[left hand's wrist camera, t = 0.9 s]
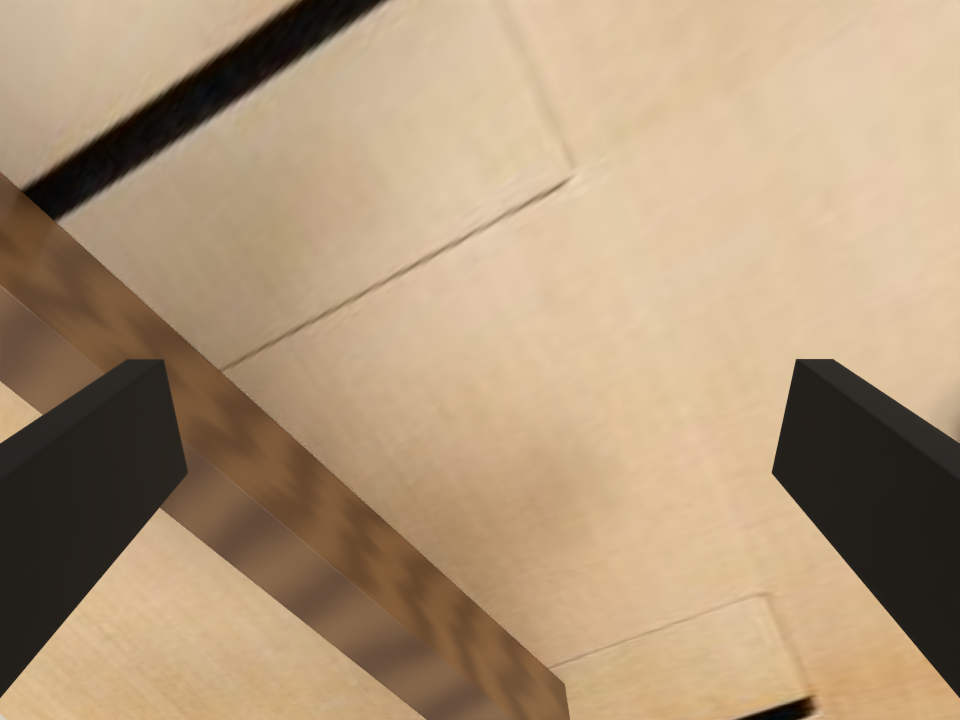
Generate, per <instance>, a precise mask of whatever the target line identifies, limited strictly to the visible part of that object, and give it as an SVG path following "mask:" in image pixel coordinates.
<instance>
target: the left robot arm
mask: <svg viewBox="0 0 960 720" xmlns="http://www.w3.org/2000/svg"><path fill="white" fill-rule="evenodd" d="M187 474H188V469H187V465H186V460H185V455H184V451H183V446H182V441H181V437H180V432H179V427H178V423H177V418H176V413H175V409H174V404H173V399H172V395H171V390H170V385H169V381H168V376H167V371H166V367H165V362H164V359H126V360H125V361H123V362H122V363H120V364H119V365H117V366H116V367H114V368H113V369H111V370H110V371H108V372H107V373H105V374H104V375H102V376H101V377H99V378H98V379H96V380H95V381H93V382H92V383H90V384H89V385H87V386H86V387H84V388H83V389H81V390H80V391H78V392H77V393H75V394H74V395H72V396H71V397H69V398H68V399H66V400H65V401H63V402H62V403H60V404H59V405H57V406H56V407H54V408H53V409H51V410H50V411H48V412H47V413H45V414H44V415H42V416H41V417H39V418H38V419H36V420H35V421H33V422H32V423H30V424H29V425H27V426H26V427H24V428H23V429H21V430H20V431H18V432H17V433H15V434H14V435H12V436H11V437H9V438H8V439H6V440H5V441H3V442H2V443H0V698H1V697H2V695H3V694H4V693H5V692H6V691H7V689H8V688H9V687H10V686H11V685H12V683H13V682H14V681H15V680H16V679H17V677H18V676H19V675H20V674H21V673H22V671H23V670H24V669H25V668H26V667H27V665H28V664H29V663H30V662H31V661H32V659H33V658H34V657H35V656H36V655H37V653H38V652H39V651H40V650H41V649H42V648H43V646H44V645H45V644H46V643H47V642H48V640H49V639H50V638H51V637H52V636H53V634H54V633H55V632H56V631H57V630H58V628H59V627H60V626H61V625H62V624H63V622H64V621H65V620H66V619H67V618H68V616H69V615H70V614H71V613H72V612H73V610H74V609H75V608H76V607H77V606H78V604H79V603H80V602H81V601H82V600H83V598H84V597H85V596H86V595H87V594H88V592H89V591H90V590H91V589H92V588H93V586H94V585H95V584H96V583H97V582H98V580H99V579H100V578H101V577H102V576H103V574H104V573H105V572H106V571H107V570H108V569H109V567H110V566H111V565H112V564H113V563H114V561H115V560H116V559H117V558H118V557H119V555H120V554H121V553H122V552H123V551H124V549H125V548H126V547H127V546H128V545H129V543H130V542H131V541H132V540H133V539H134V537H135V536H136V535H137V534H138V533H139V531H140V530H141V529H142V528H143V527H144V525H145V524H146V523H147V522H148V521H149V519H150V518H151V517H152V516H153V515H154V513H155V512H156V511H157V510H158V509H159V507H160V506H161V505H162V504H163V503H164V501H165V500H166V499H167V498H168V497H169V496H170V494H171V493H172V492H173V491H174V490H175V488H176V487H177V486H178V485H179V484H180V482H181V481H182V480H183V479H184V478H185V476H186V475H187ZM772 474H773V475H774V476H775V478H776V479H777V480H778V481H779V482H780V484H781V485H782V486H783V487H784V488H785V490H786V491H787V492H788V493H789V494H790V496H791V497H792V498H793V499H794V500H795V501H796V503H797V504H798V505H799V506H800V507H801V509H802V510H803V511H804V512H805V513H806V515H807V516H808V517H809V518H810V519H811V521H812V522H813V523H814V524H815V525H816V527H817V528H818V529H819V530H820V531H821V533H822V534H823V535H824V536H825V537H826V539H827V540H828V541H829V542H830V543H831V545H832V546H833V547H834V548H835V549H836V551H837V552H838V553H839V554H840V555H841V557H842V558H843V559H844V560H845V561H846V563H847V564H848V565H849V566H850V567H851V569H852V570H853V571H854V572H855V573H856V575H857V576H858V577H859V578H860V579H861V580H862V582H863V583H864V584H865V585H866V586H867V588H868V589H869V590H870V591H871V592H872V594H873V595H874V596H875V597H876V598H877V600H878V601H879V602H880V603H881V604H882V606H883V607H884V608H885V609H886V610H887V612H888V613H889V614H890V615H891V616H892V618H893V619H894V620H895V621H896V622H897V624H898V625H899V626H900V627H901V628H902V630H903V631H904V632H905V633H906V634H907V636H908V637H909V638H910V639H911V640H912V642H913V643H914V644H915V645H916V646H917V648H918V649H919V650H920V651H921V652H922V653H923V655H924V656H925V657H926V658H927V659H928V661H929V662H930V663H931V664H932V665H933V667H934V668H935V669H936V670H937V671H938V673H939V674H940V675H941V676H942V677H943V679H944V680H945V681H946V682H947V683H948V685H949V686H950V687H951V688H952V689H953V691H954V692H955V693H956V694H957V695H958V697H959V698H960V443H958V442H957V441H955V440H954V439H952V438H951V437H949V436H948V435H946V434H945V433H943V432H942V431H940V430H939V429H937V428H936V427H934V426H933V425H931V424H930V423H928V422H927V421H925V420H924V419H922V418H921V417H919V416H918V415H916V414H915V413H913V412H912V411H910V410H909V409H907V408H906V407H904V406H903V405H901V404H900V403H898V402H897V401H895V400H894V399H892V398H891V397H889V396H888V395H886V394H885V393H883V392H882V391H880V390H879V389H877V388H876V387H874V386H873V385H871V384H870V383H868V382H867V381H865V380H864V379H862V378H861V377H859V376H858V375H856V374H855V373H853V372H852V371H850V370H849V369H847V368H846V367H844V366H843V365H841V364H840V363H838V362H837V361H835V360H834V359H796V362H795V367H794V371H793V376H792V381H791V385H790V390H789V395H788V399H787V404H786V409H785V413H784V418H783V423H782V427H781V432H780V437H779V441H778V446H777V451H776V455H775V460H774V465H773V469H772Z"/></svg>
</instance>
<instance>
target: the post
mask: <svg viewBox="0 0 960 720" xmlns="http://www.w3.org/2000/svg"><path fill="white" fill-rule="evenodd" d="M126 359H164V362H165V367H166V371H167V376H168V381H169V385H170V390H171V395H172V399H173V404H174V409H175V413H176V418H177V423H178V427H179V432H180V437H181V441H182V446H183V451H184V455H185V460H186V465H187V469H188V474H187V475H186V476H185V478H184V479H183V480H182V481H181V482H180V484H179V485H178V486H177V487H176V488H175V490H174V491H173V492H172V493H171V494H170V496H169V497H168V498H167V499H166V500H165V501H164V503H163V504H162V505H161V506H160V508H161V509H162V510H164V511H165V512H166V513H167V514H169V515H170V516H171V517H172V518H174V519H175V520H176V521H177V522H179V523H180V524H181V525H182V526H184V527H185V528H186V529H187V530H189V531H190V532H191V533H192V534H194V535H195V536H196V537H198V538H199V539H200V540H201V541H203V542H204V543H205V544H206V545H208V546H209V547H210V548H211V549H213V550H214V551H215V552H216V553H218V554H219V555H220V556H221V557H223V558H224V559H225V560H226V561H228V562H229V563H230V564H232V565H233V566H234V567H235V568H237V569H238V570H239V571H240V572H242V573H243V574H244V575H245V576H247V577H248V578H249V579H250V580H252V581H253V582H254V583H255V584H257V585H258V586H259V587H261V588H262V589H263V590H264V591H266V592H267V593H268V594H269V595H271V596H272V597H273V598H274V599H276V600H277V601H278V602H279V603H281V604H282V605H283V606H284V607H286V608H287V609H288V610H289V611H291V612H292V613H293V614H295V615H296V616H297V617H298V618H300V619H301V620H302V621H303V622H305V623H306V624H307V625H308V626H310V627H311V628H312V629H313V630H315V631H316V632H317V633H318V634H320V635H321V636H322V637H323V638H325V639H326V640H327V641H329V642H330V643H331V644H332V645H334V646H335V647H336V648H337V649H339V650H340V651H341V652H342V653H344V654H345V655H346V656H347V657H349V658H350V659H351V660H352V661H354V662H355V663H356V664H358V665H359V666H360V667H361V668H363V669H364V670H365V671H366V672H368V673H369V674H370V675H371V676H373V677H374V678H375V679H376V680H378V681H379V682H380V683H381V684H383V685H384V686H385V687H386V688H388V689H389V690H390V691H392V692H393V693H394V694H395V695H397V696H398V697H399V698H400V699H402V700H403V701H404V702H405V703H407V704H408V705H409V706H410V707H412V708H413V709H414V710H415V711H417V712H418V713H419V714H420V715H422V716H423V717H424V718H426V719H427V720H570V716H569V710H568V703H567V697H566V690H565V684H564V683H563V682H562V681H560V680H559V679H558V678H557V677H556V676H555V675H554V674H553V673H552V672H551V671H549V670H548V669H547V668H546V667H545V666H544V665H543V664H542V663H541V662H540V661H538V660H537V659H536V658H535V657H534V656H533V655H532V654H531V653H530V652H528V651H527V650H526V649H525V648H524V647H523V646H522V645H521V644H520V643H519V642H517V641H516V640H515V639H514V638H513V637H512V636H511V635H510V634H509V633H508V632H506V631H505V630H504V629H503V628H502V627H501V626H500V625H499V624H498V623H497V622H495V621H494V620H493V619H492V618H491V617H490V616H489V615H488V614H487V613H486V612H484V611H483V610H482V609H481V608H480V607H479V606H478V605H477V604H476V603H474V602H473V601H472V600H471V599H470V598H469V597H468V596H467V595H466V594H465V593H463V592H462V591H461V590H460V589H459V588H458V587H457V586H456V585H455V584H454V583H452V582H451V581H450V580H449V579H448V578H447V577H446V576H445V575H444V574H443V573H441V572H440V571H439V570H438V569H437V568H436V567H435V566H434V565H433V564H432V563H430V562H429V561H428V560H427V559H426V558H425V557H424V556H423V555H422V554H420V553H419V552H418V551H417V550H416V549H415V548H414V547H413V546H412V545H411V544H409V543H408V542H407V541H406V540H405V539H404V538H403V537H402V536H401V535H400V534H398V533H397V532H396V531H395V530H394V529H393V528H392V527H391V526H390V525H389V524H387V523H386V522H385V521H384V520H383V519H382V518H381V517H380V516H379V515H378V514H376V513H375V512H374V511H373V510H372V509H371V508H370V507H369V506H368V505H366V504H365V503H364V502H363V501H362V500H361V499H360V498H359V497H358V496H357V495H355V494H354V493H353V492H352V491H351V490H350V489H349V488H348V487H347V486H346V485H344V484H343V483H342V482H341V481H340V480H339V479H338V478H337V477H336V476H335V475H333V474H332V473H331V472H330V471H329V470H328V469H327V468H326V467H325V466H323V465H322V464H321V463H320V462H319V461H318V460H317V459H316V458H315V457H314V456H312V455H311V454H310V453H309V452H308V451H307V450H306V449H305V448H304V447H303V446H301V445H300V444H299V443H298V442H297V441H296V440H295V439H294V438H293V437H292V436H290V435H289V434H288V433H287V432H286V431H285V430H284V429H283V428H282V427H281V426H279V425H278V424H277V423H276V422H275V421H274V420H273V419H272V418H271V417H269V416H268V415H267V414H266V413H265V412H264V411H263V410H262V409H261V408H260V407H258V406H257V405H256V404H255V403H254V402H253V401H252V400H251V399H250V398H249V397H247V396H246V395H245V394H244V393H243V392H242V391H241V390H240V389H239V388H238V387H236V386H235V385H234V384H233V383H232V382H231V381H230V380H229V379H228V378H227V377H225V376H224V375H223V374H222V373H221V372H220V371H219V370H218V369H217V368H215V367H214V366H213V365H212V364H211V363H210V362H209V361H208V360H207V359H206V358H204V357H203V356H202V355H201V354H200V353H199V352H198V351H197V350H196V349H195V348H193V347H192V346H191V345H190V344H189V343H188V342H187V341H186V340H185V339H184V338H182V337H181V336H180V335H179V334H178V333H177V332H176V331H175V330H174V329H173V328H171V327H170V326H169V325H168V324H167V323H166V322H165V321H164V320H163V319H161V318H160V317H159V316H158V315H157V314H156V313H155V312H154V311H153V310H152V309H150V308H149V307H148V306H147V305H146V304H145V303H144V302H143V301H142V300H141V299H139V298H138V297H137V296H136V295H135V294H134V293H133V292H132V291H131V290H130V289H128V288H127V287H126V286H125V285H124V284H123V283H122V282H121V281H120V280H119V279H117V278H116V277H115V276H114V275H113V274H112V273H111V272H110V271H109V270H107V269H106V268H105V267H104V266H103V265H102V264H101V263H100V262H99V261H98V260H96V259H95V258H94V257H93V256H92V255H91V254H90V253H89V252H88V251H87V250H85V249H84V248H83V247H82V246H81V245H80V244H79V243H78V242H77V241H76V240H74V239H73V238H72V237H71V236H70V235H69V234H68V233H67V232H66V231H65V230H63V229H62V228H61V227H60V226H59V225H58V224H57V223H56V222H55V221H53V220H52V219H51V218H50V217H49V216H48V215H47V214H46V213H45V212H44V211H42V210H41V209H40V208H39V207H38V206H37V205H36V204H35V203H34V202H33V201H31V200H30V199H29V198H28V197H27V196H26V195H25V194H24V193H23V192H22V191H20V190H19V189H18V188H17V187H16V186H15V185H14V184H13V183H12V182H11V181H9V180H8V179H7V178H6V177H5V176H4V175H3V174H2V173H1V172H0V381H1V382H2V383H4V384H5V385H6V386H7V387H9V388H10V389H11V390H12V391H14V392H15V393H16V394H17V395H19V396H20V397H21V398H22V399H24V400H25V401H26V402H27V403H29V404H30V405H31V406H33V407H34V408H35V409H36V410H38V411H39V412H40V413H41V414H43V415H44V414H45V413H47V412H48V411H50V410H51V409H53V408H54V407H56V406H57V405H59V404H60V403H62V402H63V401H65V400H66V399H68V398H69V397H71V396H72V395H74V394H75V393H77V392H78V391H80V390H81V389H83V388H84V387H86V386H87V385H89V384H90V383H92V382H93V381H95V380H96V379H98V378H99V377H101V376H102V375H104V374H105V373H107V372H108V371H110V370H111V369H113V368H114V367H116V366H117V365H119V364H120V363H122V362H123V361H125V360H126Z"/></svg>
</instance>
